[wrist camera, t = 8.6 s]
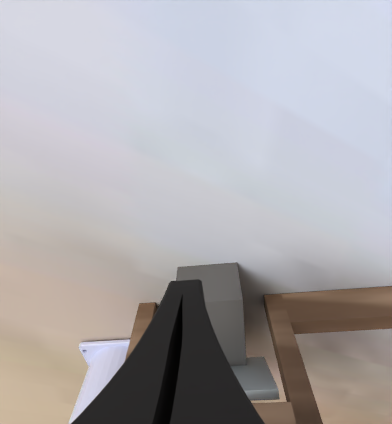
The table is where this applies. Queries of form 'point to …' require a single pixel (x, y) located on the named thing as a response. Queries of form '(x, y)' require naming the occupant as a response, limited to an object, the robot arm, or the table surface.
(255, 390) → the flap
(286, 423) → the doorway frame
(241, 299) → the tall grey block
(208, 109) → the table surface
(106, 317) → the table surface
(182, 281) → the robot arm
